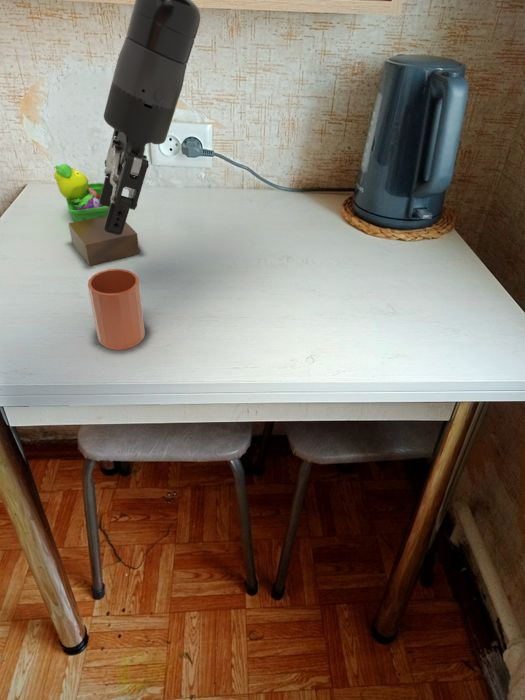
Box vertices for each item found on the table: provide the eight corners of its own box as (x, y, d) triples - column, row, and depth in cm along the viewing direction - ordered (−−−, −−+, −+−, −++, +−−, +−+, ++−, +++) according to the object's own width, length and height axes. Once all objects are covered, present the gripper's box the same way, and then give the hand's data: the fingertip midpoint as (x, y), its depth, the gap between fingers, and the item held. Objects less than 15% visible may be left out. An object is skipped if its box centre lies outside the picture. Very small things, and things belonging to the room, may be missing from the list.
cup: (108, 355, 69) (98, 300, 63) (91, 330, 73) (81, 276, 67) (152, 340, 72) (146, 286, 66) (134, 317, 76) (127, 264, 70)
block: (89, 266, 86) (85, 245, 84) (72, 243, 92) (68, 223, 89) (139, 254, 90) (137, 233, 88) (120, 233, 96) (117, 213, 93)
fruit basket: (116, 231, 96) (108, 172, 89) (67, 237, 93) (54, 176, 86) (107, 206, 104) (98, 150, 97) (61, 211, 101) (49, 153, 94)
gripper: (107, 66, 63) (77, 190, 70) (119, 92, 52) (82, 234, 60) (166, 91, 66) (131, 205, 74) (187, 120, 56) (144, 250, 63)
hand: (109, 218), depth 67 cm, fingers open, 8 cm apart
